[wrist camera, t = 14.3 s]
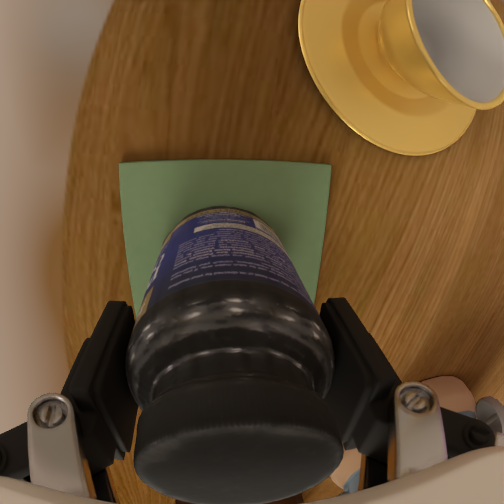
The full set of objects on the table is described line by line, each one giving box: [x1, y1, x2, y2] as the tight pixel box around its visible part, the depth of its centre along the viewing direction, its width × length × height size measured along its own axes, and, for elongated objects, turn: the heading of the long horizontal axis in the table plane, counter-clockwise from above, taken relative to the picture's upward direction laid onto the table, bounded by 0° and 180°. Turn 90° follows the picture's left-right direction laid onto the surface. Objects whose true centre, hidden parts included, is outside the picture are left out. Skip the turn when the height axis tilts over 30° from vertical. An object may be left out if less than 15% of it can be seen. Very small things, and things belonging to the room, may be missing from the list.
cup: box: [298, 0, 504, 156], centre depth 10 cm, size 12×12×5 cm
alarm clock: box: [330, 376, 504, 497], centre depth 22 cm, size 17×9×23 cm
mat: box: [119, 159, 332, 319], centre depth 15 cm, size 10×10×1 cm
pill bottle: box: [125, 206, 344, 504], centre depth 10 cm, size 6×6×11 cm
